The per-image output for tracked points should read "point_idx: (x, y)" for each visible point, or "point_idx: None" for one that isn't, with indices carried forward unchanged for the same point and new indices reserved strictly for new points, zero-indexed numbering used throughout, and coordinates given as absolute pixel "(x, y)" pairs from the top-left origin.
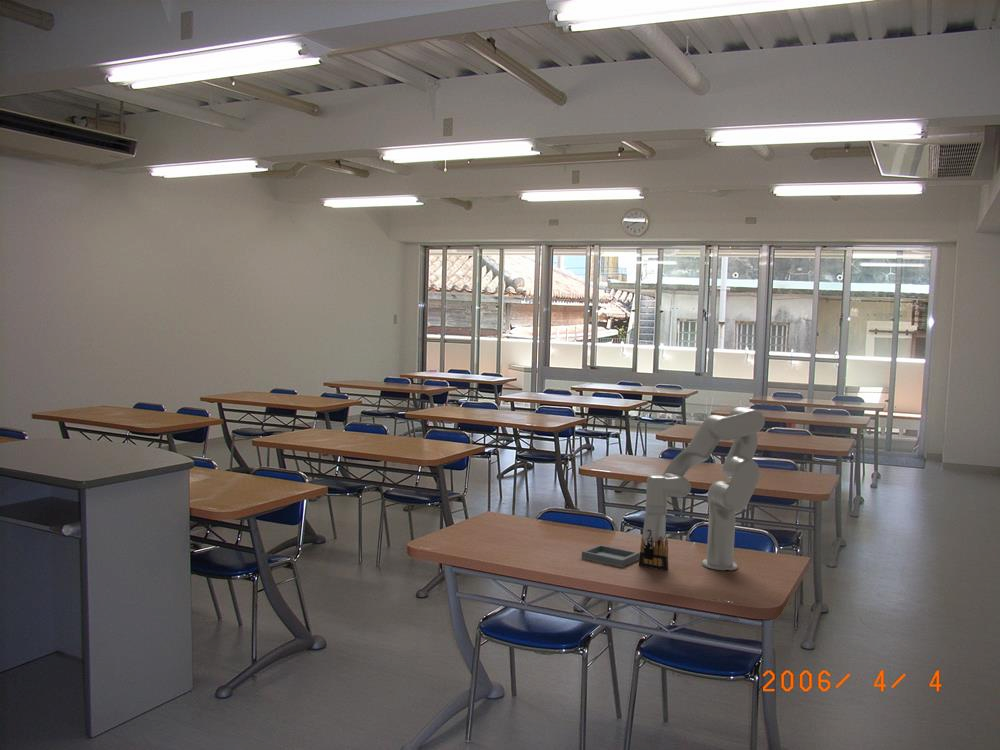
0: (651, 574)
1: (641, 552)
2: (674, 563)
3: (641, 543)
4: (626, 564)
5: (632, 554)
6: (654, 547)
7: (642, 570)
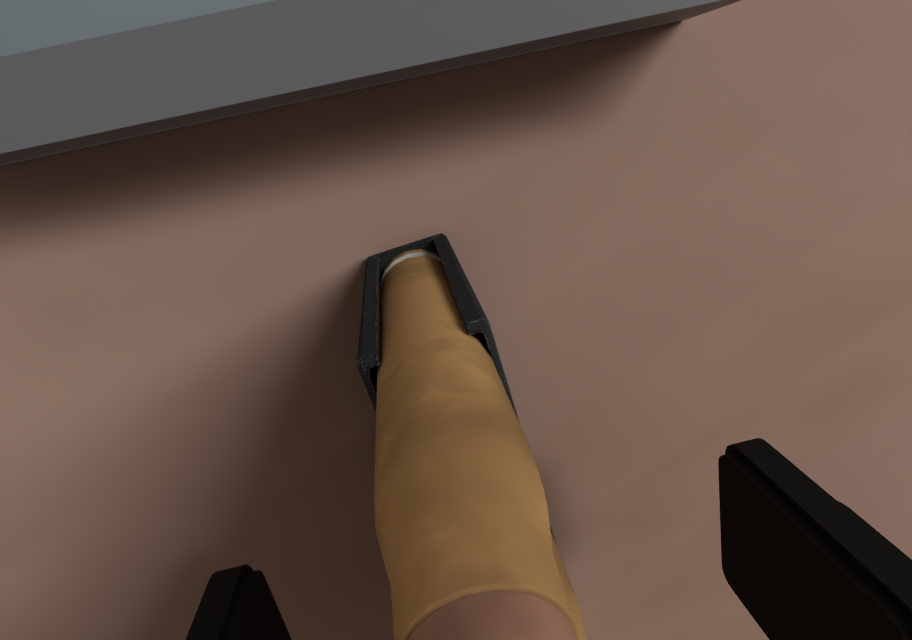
0: (181, 620)
1: (373, 401)
2: (861, 464)
3: (391, 550)
4: (142, 134)
5: None
6: None
7: (205, 458)
